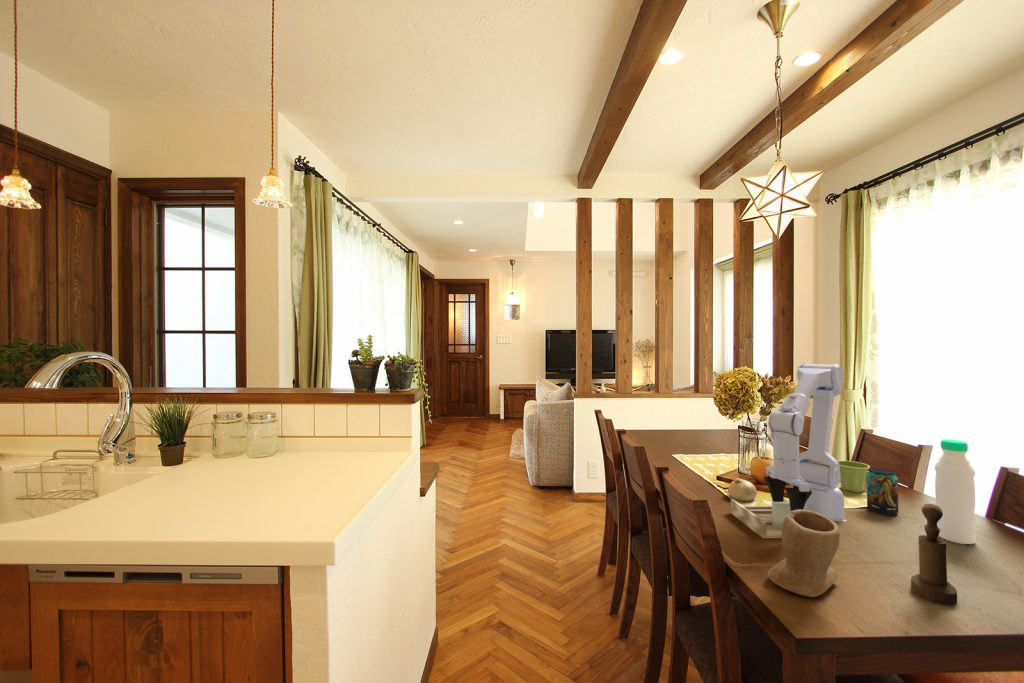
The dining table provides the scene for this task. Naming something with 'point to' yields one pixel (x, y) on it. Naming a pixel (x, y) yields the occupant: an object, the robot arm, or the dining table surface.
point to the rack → (756, 519)
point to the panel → (779, 512)
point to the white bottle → (955, 493)
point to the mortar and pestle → (933, 562)
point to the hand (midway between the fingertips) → (786, 509)
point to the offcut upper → (765, 517)
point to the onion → (742, 490)
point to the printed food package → (882, 491)
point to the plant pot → (853, 475)
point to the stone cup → (807, 553)
